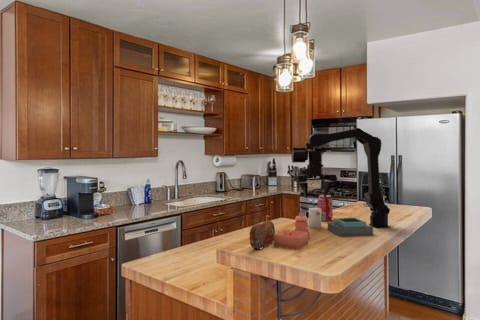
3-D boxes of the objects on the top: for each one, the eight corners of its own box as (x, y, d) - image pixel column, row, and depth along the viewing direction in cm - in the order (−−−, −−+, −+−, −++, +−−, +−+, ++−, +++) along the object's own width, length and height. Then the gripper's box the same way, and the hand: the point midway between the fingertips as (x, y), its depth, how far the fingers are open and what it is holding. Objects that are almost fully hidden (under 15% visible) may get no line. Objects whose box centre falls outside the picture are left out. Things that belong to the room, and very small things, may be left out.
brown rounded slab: (256, 252, 112) (255, 227, 111) (247, 250, 113) (247, 226, 113) (275, 241, 124) (275, 219, 124) (268, 240, 126) (268, 218, 126)
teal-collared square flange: (358, 228, 145) (358, 216, 145) (373, 234, 133) (373, 222, 133) (327, 229, 143) (327, 218, 143) (339, 236, 131) (339, 223, 131)
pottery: (298, 249, 114) (298, 221, 114) (273, 245, 119) (273, 218, 119) (316, 238, 129) (316, 213, 129) (293, 235, 134) (293, 211, 134)
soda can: (331, 218, 167) (331, 194, 167) (333, 221, 160) (333, 196, 160) (316, 218, 168) (316, 194, 167) (318, 221, 160) (318, 196, 160)
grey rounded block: (318, 224, 153) (318, 207, 152) (324, 228, 145) (324, 210, 145) (307, 225, 152) (307, 207, 152) (312, 228, 145) (312, 210, 144)
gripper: (325, 161, 158) (325, 194, 158) (288, 162, 153) (288, 196, 154) (337, 162, 147) (337, 197, 148) (298, 162, 143) (299, 199, 143)
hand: (315, 197), depth 148 cm, fingers open, 9 cm apart
